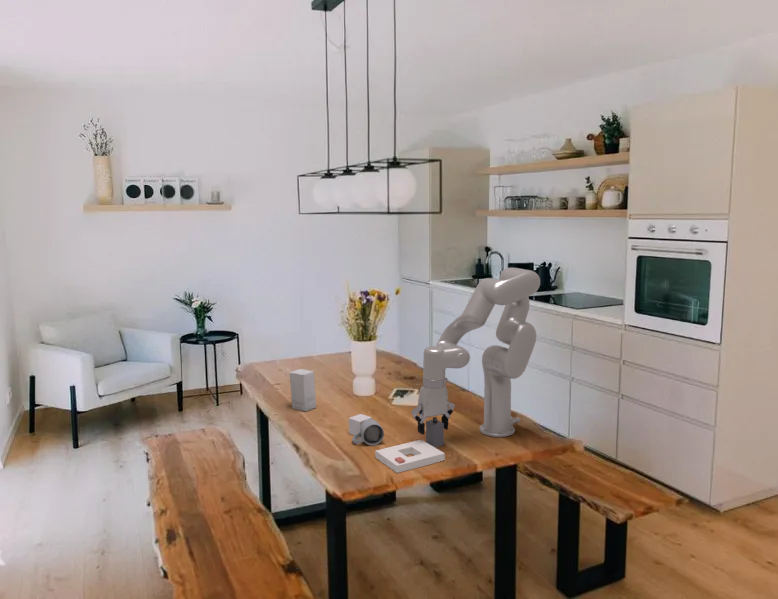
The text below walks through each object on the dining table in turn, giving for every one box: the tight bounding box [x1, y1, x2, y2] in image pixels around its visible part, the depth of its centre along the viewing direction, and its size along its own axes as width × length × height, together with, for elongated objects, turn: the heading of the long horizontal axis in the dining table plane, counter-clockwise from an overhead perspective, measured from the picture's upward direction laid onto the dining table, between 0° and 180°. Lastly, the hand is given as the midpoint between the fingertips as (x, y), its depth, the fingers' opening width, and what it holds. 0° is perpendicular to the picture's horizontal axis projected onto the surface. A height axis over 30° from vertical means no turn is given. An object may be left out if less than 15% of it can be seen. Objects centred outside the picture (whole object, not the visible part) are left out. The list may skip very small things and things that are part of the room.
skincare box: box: [289, 368, 317, 412], centre depth 259 cm, size 8×7×16 cm
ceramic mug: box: [351, 418, 385, 446], centre depth 223 cm, size 11×8×8 cm
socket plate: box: [374, 439, 446, 474], centre depth 208 cm, size 18×14×3 cm
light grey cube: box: [348, 413, 373, 438], centre depth 231 cm, size 6×6×6 cm
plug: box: [425, 416, 445, 448], centre depth 220 cm, size 4×5×10 cm
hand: (433, 430), depth 219 cm, fingers open, 9 cm apart
